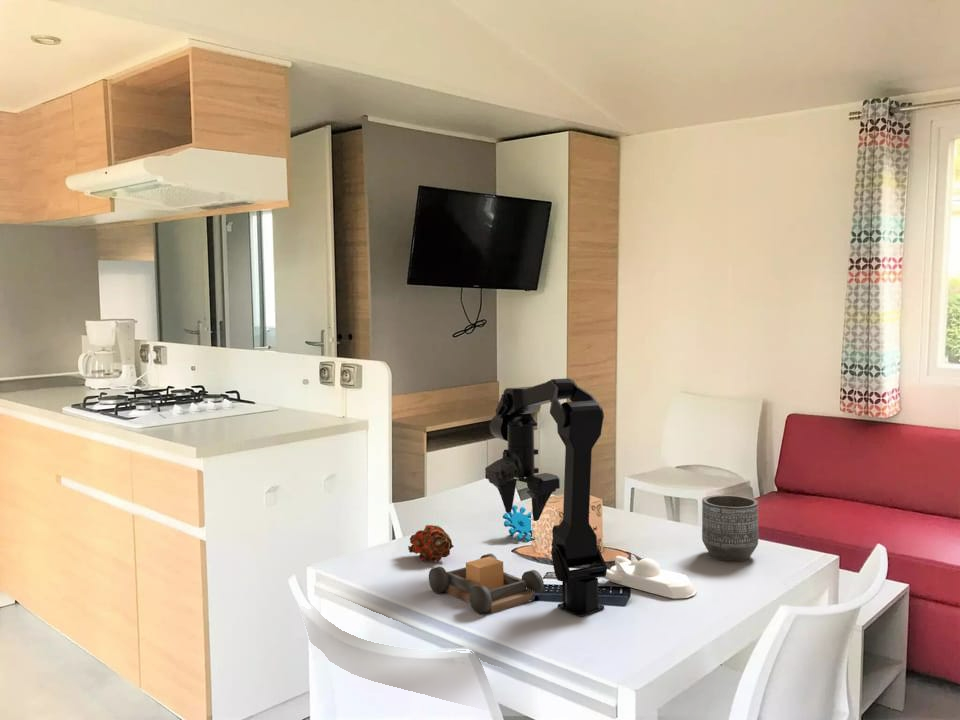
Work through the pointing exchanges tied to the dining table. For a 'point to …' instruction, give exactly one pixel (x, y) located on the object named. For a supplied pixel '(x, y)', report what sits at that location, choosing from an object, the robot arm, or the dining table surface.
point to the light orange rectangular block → (485, 572)
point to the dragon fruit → (431, 543)
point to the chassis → (480, 594)
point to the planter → (730, 526)
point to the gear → (519, 523)
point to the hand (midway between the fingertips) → (522, 516)
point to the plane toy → (650, 578)
